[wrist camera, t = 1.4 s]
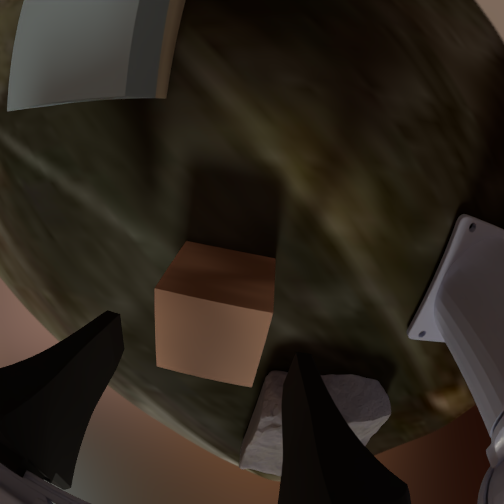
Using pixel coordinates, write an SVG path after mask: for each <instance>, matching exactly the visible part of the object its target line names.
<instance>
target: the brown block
mask: <svg viewBox="0 0 504 504" xmlns="http://www.w3.org/2000/svg"><path fill="white" fill-rule="evenodd" d="M184 4H185V0H170V1H169V6H168V11H167V16H166V22H165V28H164V34H163V40H162V47H161V54H160V61H159V69H158V78H157V87H156V96H155V98H164V99H166V96H167V90H168V83H169V77H170V71H171V66H172V60H173V55H174V50H175V45H176V40H177V35H178V30H179V26H180V21H181V17H182V12H183V8H184Z"/></svg>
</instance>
